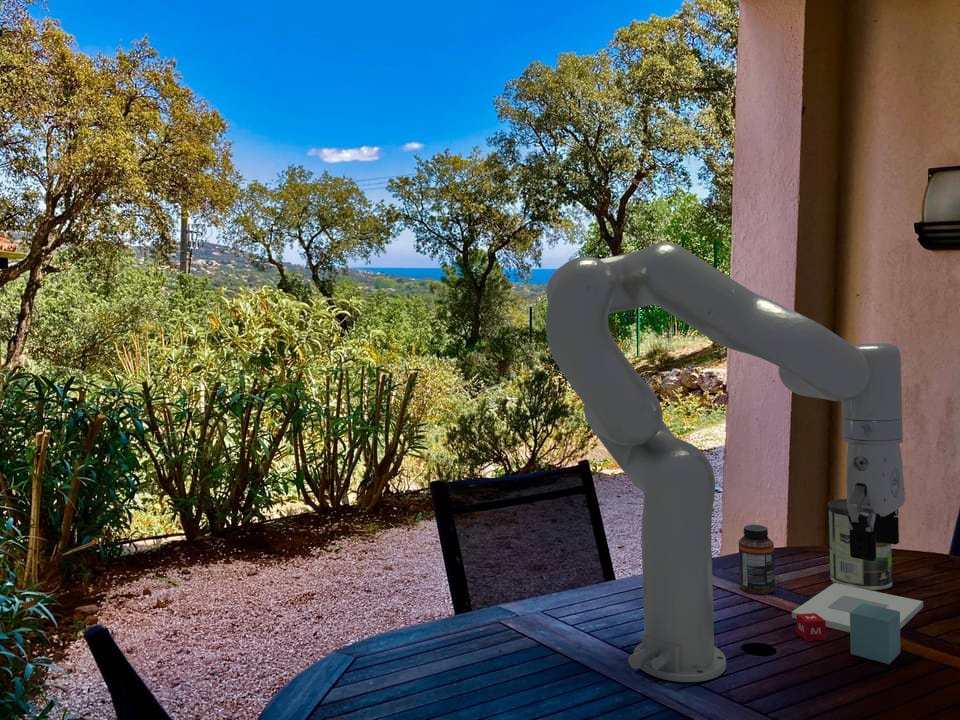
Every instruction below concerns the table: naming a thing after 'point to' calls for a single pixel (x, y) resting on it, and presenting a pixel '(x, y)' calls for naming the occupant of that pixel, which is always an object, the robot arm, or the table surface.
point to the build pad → (854, 605)
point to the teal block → (875, 633)
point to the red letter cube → (811, 627)
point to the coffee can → (854, 569)
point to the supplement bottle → (756, 560)
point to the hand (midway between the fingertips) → (875, 550)
